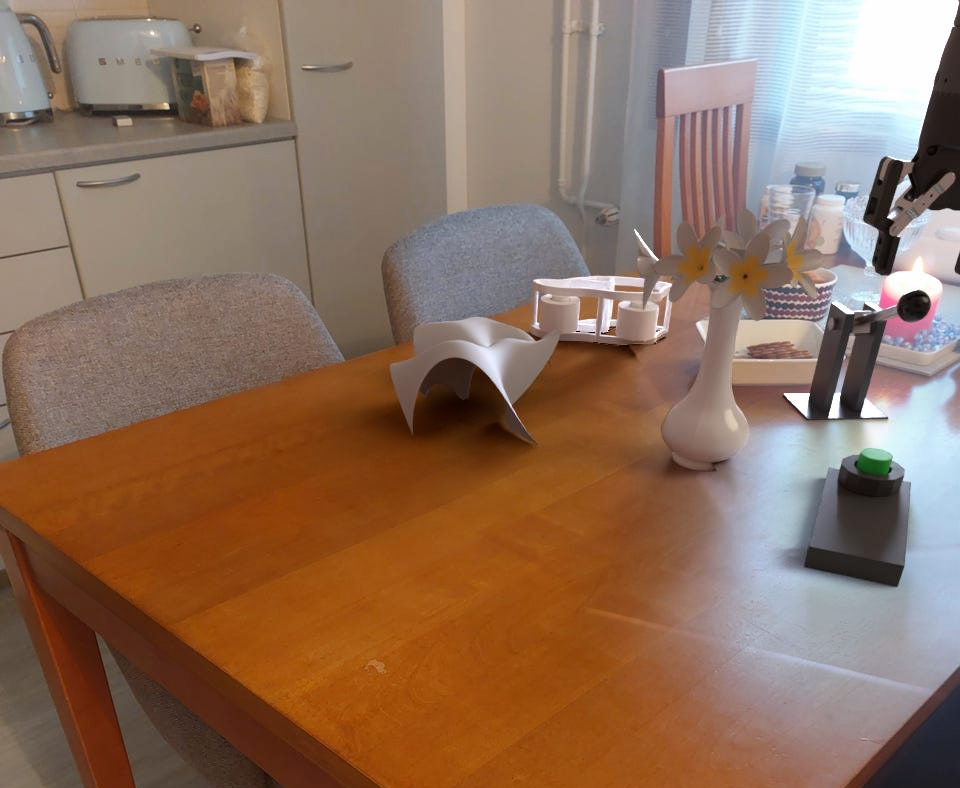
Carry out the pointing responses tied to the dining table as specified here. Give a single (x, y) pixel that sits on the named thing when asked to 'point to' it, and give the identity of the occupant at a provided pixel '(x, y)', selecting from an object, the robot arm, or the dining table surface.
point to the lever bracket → (858, 375)
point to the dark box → (861, 524)
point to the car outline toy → (598, 310)
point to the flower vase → (724, 321)
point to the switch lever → (894, 312)
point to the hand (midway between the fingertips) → (922, 274)
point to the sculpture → (472, 362)
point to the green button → (874, 461)
